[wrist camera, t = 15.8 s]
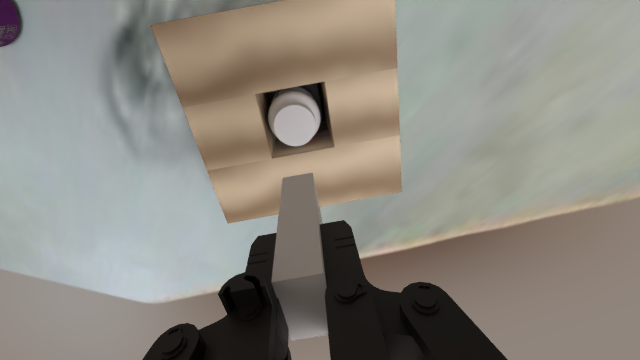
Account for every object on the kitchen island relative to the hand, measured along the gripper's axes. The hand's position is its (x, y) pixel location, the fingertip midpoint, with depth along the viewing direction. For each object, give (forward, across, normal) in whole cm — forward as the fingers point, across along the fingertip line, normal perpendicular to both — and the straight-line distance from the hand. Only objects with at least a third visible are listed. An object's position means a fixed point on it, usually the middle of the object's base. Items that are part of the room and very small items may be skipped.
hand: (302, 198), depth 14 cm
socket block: (+25, 0, 0) cm, 25 cm away
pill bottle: (+24, -1, 0) cm, 24 cm away
